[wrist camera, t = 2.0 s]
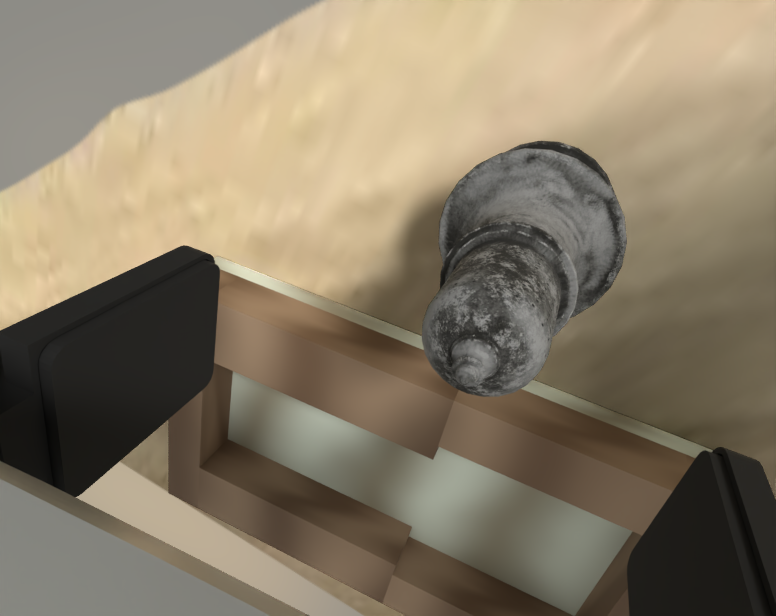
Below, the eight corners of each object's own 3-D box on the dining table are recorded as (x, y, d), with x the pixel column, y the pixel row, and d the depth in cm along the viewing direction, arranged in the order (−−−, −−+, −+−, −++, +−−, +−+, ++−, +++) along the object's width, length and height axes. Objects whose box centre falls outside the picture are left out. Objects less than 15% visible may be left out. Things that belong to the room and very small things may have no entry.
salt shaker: (661, 179, 18) (714, 347, 8) (568, 311, 21) (525, 549, 11) (507, 103, 19) (385, 171, 9) (439, 241, 22) (292, 406, 12)
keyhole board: (721, 453, 22) (737, 518, 19) (585, 638, 29) (582, 706, 26) (217, 255, 27) (168, 282, 24) (207, 453, 34) (168, 492, 31)
